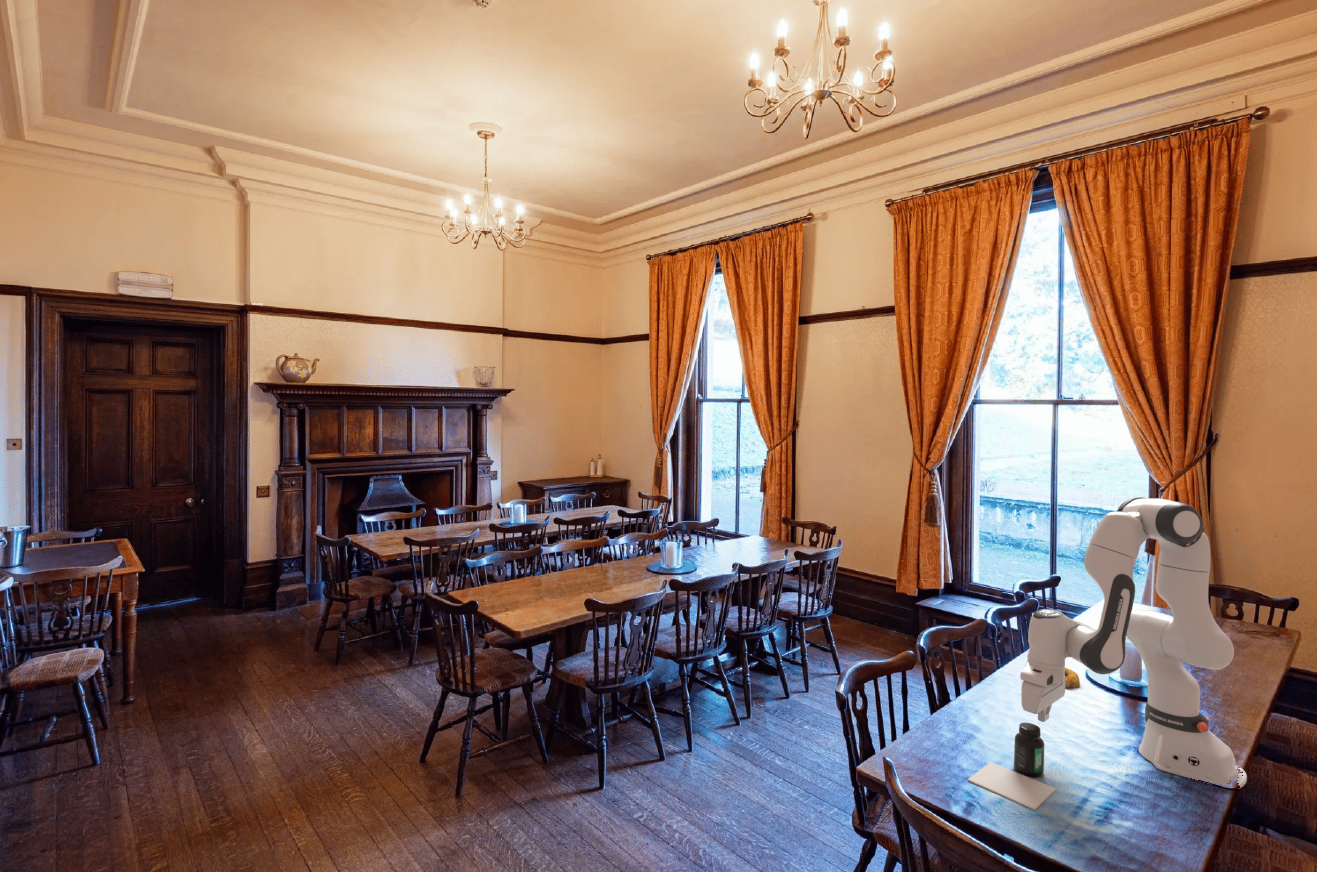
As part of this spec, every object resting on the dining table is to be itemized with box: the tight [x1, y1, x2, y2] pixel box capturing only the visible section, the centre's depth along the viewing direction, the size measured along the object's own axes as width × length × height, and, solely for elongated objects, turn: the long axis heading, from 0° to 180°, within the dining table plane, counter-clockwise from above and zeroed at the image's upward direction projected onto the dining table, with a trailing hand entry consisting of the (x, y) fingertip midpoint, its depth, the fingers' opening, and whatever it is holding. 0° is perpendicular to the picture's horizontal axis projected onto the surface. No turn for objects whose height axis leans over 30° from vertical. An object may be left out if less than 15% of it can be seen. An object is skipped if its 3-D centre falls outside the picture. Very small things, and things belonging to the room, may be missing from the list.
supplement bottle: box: [1013, 722, 1045, 779], centre depth 173 cm, size 7×7×12 cm
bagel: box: [1065, 667, 1081, 688], centre depth 230 cm, size 10×11×5 cm
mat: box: [967, 761, 1057, 811], centre depth 167 cm, size 16×13×1 cm
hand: (1043, 719), depth 179 cm, fingers closed
